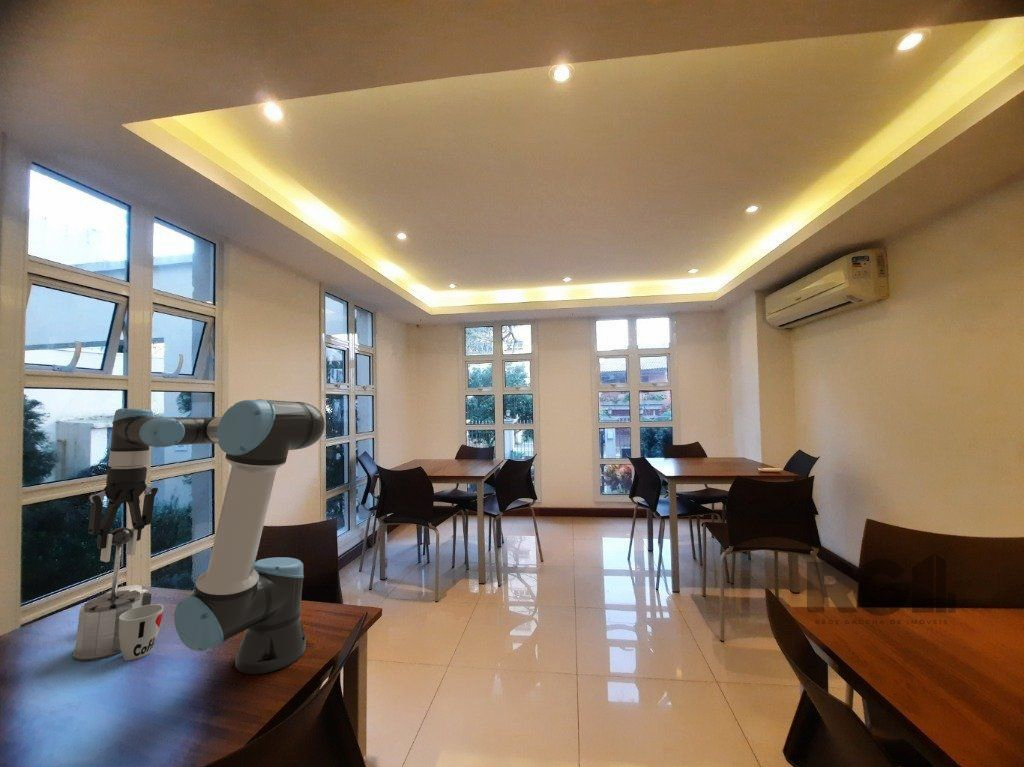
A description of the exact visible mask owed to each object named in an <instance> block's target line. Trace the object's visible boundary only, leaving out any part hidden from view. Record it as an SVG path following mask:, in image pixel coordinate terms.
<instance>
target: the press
mask: <svg viewBox="0 0 1024 767" xmlns="http://www.w3.org/2000/svg"><path fill="white" fill-rule="evenodd" d="M129 591H130V590H125V591H117V594H116V600H112V601H110V600H111V593H108V594H105V593H104V594H101V595H98V596H96V598H91V599H89V600H88V601H86V602H85V603H84V604H83V605H82V606H81V608H80V609H79V614H78V623H77V629H76V630H77V631H76V636H75V637H76V640H75V647H74V650H73V652H72V658H73V661H77V662H93V661H99V660H103V659H107V658H110V657H113V656H116V655H118V654H122V652H121V649H120V641H119V617H120V615H121V614H123V613H124V612H126V611H128V610H131V609H133V608H137V607H140V606H145V605H151V602H152V593H150V592H148V593H147V592H146V593H143V594H141V593H140V592H138V591H136V590H133V591H130V592H129ZM130 602H132V603H130ZM112 607H115V609H111V608H112ZM93 610H95V611H93Z"/></svg>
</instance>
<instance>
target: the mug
mask: <svg viewBox="0 0 1024 767" xmlns="http://www.w3.org/2000/svg"><path fill="white" fill-rule="evenodd" d="M125 590H130V591H133V590H136V591H138V592H140V593H141V594H143V593H146V592H147V593H149V590H148V589H145V588H143V586H142V585H140V584H131V585H125V586H119V587H117V591H125ZM111 591H112V589H111V590H108V591H107V592H105V593H104V594H108V593H111ZM130 591H129V592H130Z"/></svg>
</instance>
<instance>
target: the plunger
mask: <svg viewBox="0 0 1024 767" xmlns="http://www.w3.org/2000/svg"><path fill="white" fill-rule="evenodd" d="M130 529H131V528H128V527H125V526H123V527H122V526H121V527H118V528H115V529H114V530H112V531H111V532H109V534H111V535H113V536H112V545H113V546H116V547H115V548H116V549H115V554H114V555H115V556H114V564H113V565H114V566H113V576H112V583H111V584H112V585H111V590H112V591H111V600H110V601H112V600H116V594H117V588H118V585H119V576H120V575H119V574H120V567H121V566H120V565H121V556H122V548H123V545H125V544H127V542H128V541H129V540H130V539H131V537H132V532H131V530H130ZM112 545H111V546H112ZM130 603H132V602H130ZM111 609H115V607H112V608H111ZM93 611H95V610H93Z"/></svg>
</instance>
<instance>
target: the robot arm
mask: <svg viewBox="0 0 1024 767" xmlns="http://www.w3.org/2000/svg"><path fill="white" fill-rule="evenodd" d="M113 416H114V417H113V420H112V422H111V424H112V428H111V437H110V448H109V455H108V464H107V466H108V467H110V468H108V469H107V473H106V479H105V480H106V482H105V483H106V484H105V487H104V488H103V490H102V491H101V492H97V493H96V494H92V493H91V494H89V495H88V501H89V503H90V508H89V509H90V512H89V520H88V521H89V522H88V530H87V531H88V533H87V534H90V535H92V536H97V543H96V544H97V545H96V547H97V549H99V550H100V557H99V558H100V559H99V561H101V562H104V563H108V562H110V561H111V552H112V536H113V535H111V534H110V533H111V532H110V531H111V529H112V526H113V524H114V521H115V518H116V515H117V513H118V511H119V508H121V506H122V504H124V503H125V504H126V503H127V505H128V508H129V513H130V515H129V516H130V520H131V526H132V528H129V529H130V530H131V532H132V537H131V539H130V540H129V541H128V542H127V543H126V548H125V549H126V550H125V555H128V556H135V555H136V551H137V549H136V548H137V542H138V541H140V540H141V538H142V530H143V529H144V528H145V527H146V526H147V525H151V524H152V521H153V512H154V503H155V497H156V495H157V493H158V491H159V488H158V487H154V486H148V485H147V483H146V479H147V473H148V467H147V466H146V465H148V464H149V456H150V455H149V453H150V447H153V448H168V447H173V446H184V445H185V446H186V445H205V444H207V445H208V444H218V446H219V448H220V449H221V451H223V453H225V457H224V458H225V460H226V462H228V463H229V465H231V468H230V471H229V476H228V480H227V484H226V489H225V494H224V497H223V501H222V502H223V503H222V507H221V510H220V515H219V520H218V522H217V527H216V532H215V536H214V540H213V545H212V549H211V553H210V554H211V555H210V558H209V562H208V565H207V570H206V571H204V572H203V573H201V574H200V575H199V576H198V577H197V579H196V581H195V585H194V589H193V593H192V594H189V595H186V596H185V597H183V598H182V599H181V600H179V601H178V603H177V604H176V606H175V609H174V614H173V615H174V617H173V618H174V627H175V631H176V633H177V635H178V637H179V640H180V641H181V643H182V644H183V645H184V646H185V647H186V648H188V650H191V651H193V652H203V651H206V650H209V649H211V648H213V647H216V646H219V645H221V644H223V642H225V641H227V640H229V639H230V638H233V637H234V636H236V635H238V634H240V633H242V632H244V634H243V636H242V640H241V642H240V644H239V647H238V649H237V650H236V654H235V661H234V662H235V663H234V665H235V666H234V667H235V669H236V670H237V671H238V672H239V673H242V674H248V675H259V674H266V673H271V672H274V671H277V670H280V669H283V668H285V667H287V666H289V665H291V664H293V663H295V661H297V660H298V659H299V658H300V657H302V655H303V654H304V652H305V651H306V645H307V644H306V642H307V639H306V638H307V637H306V634H305V630H304V627H303V624H302V620H301V608H302V599H303V598H302V597H303V584H304V578H305V575H304V562H302V561H301V560H300V559H298V558H293V557H285V556H284V557H280V556H278V557H275V556H274V557H267V558H262V559H259V560H258V559H256V558H257V556H258V551H259V547H260V542H261V537H262V534H263V530H264V525H265V520H266V516H267V512H268V509H269V508H268V507H269V503H270V500H271V495H272V492H273V491H272V490H273V486H274V481H275V477H276V472H277V470H278V469H279V468H280V467H282V466H284V465H285V464H286V462H287V459H288V454H289V451H296V450H302V449H306V448H309V447H311V446H312V445H314V444H316V443H317V442H318V440H320V439H321V438H322V436H323V433H324V431H325V418H324V415H323V413H322V412H321V411H320V410H319V408H317V407H316V406H314V405H313V404H310V403H307V402H302V401H285V400H274V399H262V398H261V399H260V398H259V399H245V400H240V401H238V402H235V403H234V404H233V405H231V406H229V408H228V409H227V410H225V412H224V413H223V415H222V416H211V417H206V416H205V417H203V416H202V417H182V416H181V417H180V416H179V417H177V416H175V417H174V416H172V417H170V416H165V417H164V416H154V412H153V410H152V409H147V408H118V409H117V410H115V411H114V415H113ZM143 493H144V494H143ZM142 494H143V496H144V497H143V504H142V512H141V508H140V507H141V506H140V504H141V500H140V496H142ZM105 497H106V498H107V499H108V502H107V508H106V510H105V513H104V514H103V515H104V516H103V518H102V512H103V501H104V500H105Z"/></svg>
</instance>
